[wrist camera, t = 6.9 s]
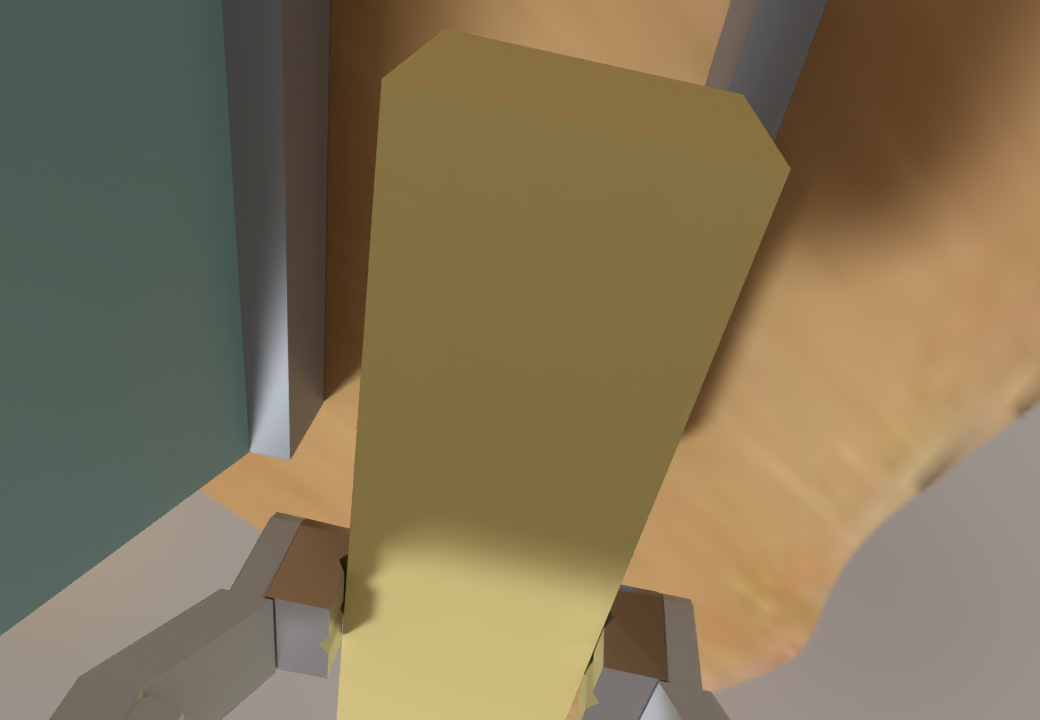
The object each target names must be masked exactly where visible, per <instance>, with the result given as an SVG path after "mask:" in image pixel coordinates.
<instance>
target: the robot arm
mask: <svg viewBox="0 0 1040 720" xmlns="http://www.w3.org/2000/svg"><path fill="white" fill-rule="evenodd" d="M349 536H350V529H349V528H345V527H340V526H336V525H332V524H328V523H324V522H319V521H315V520H311V519H307V518H302V517H297V516H293V515H288V514H284V513H279V512H276V513H275V514H274V515H273V516H272V517H271V518H270V519H269V521H268V523H267V525H266V526H265V528H264V530H263V532H262V534H261V535H260V538H259V539H258V541H257V543H256V544H255V546H254V548H253V550H252V552H251V553H250V555H249V557H248V559H247V560H246V562H245V564H244V566H243V568H242V569H241V571H240V573H239V575H238V577H237V578H236V580H235V582H234V584H233V586H232V587H231V589H230V590H225V589H220V590H218V591H217V592H215V593H213V594H212V595H210V596H209V597H207V598H205V599H204V600H202V601H200V602H199V603H197V604H196V605H194V606H192V607H191V608H189V609H188V610H186V611H184V612H183V613H181V614H179V615H178V616H176V617H175V618H173V619H171V620H170V621H168V622H167V623H165V624H163V625H162V626H161V627H159V628H157V629H155V630H154V631H152V632H150V633H149V634H147V635H146V636H144V637H142V638H141V639H139V640H138V641H136V642H134V643H133V644H131V645H129V646H128V647H126V648H125V649H123V650H122V651H120V652H118V653H117V654H115V655H113V656H112V657H110V658H109V659H107V660H105V661H104V662H102V663H100V664H99V665H97V666H96V667H94V668H92V669H91V670H89V671H88V672H86V673H84V674H83V675H81V676H79V677H78V679H77V680H76V682H75V683H74V685H73V686H72V688H71V689H70V690H69V692H68V693H67V695H66V696H65V698H64V699H63V701H62V702H61V704H60V705H59V706H58V708H57V709H56V711H55V712H54V713H53V715H52V716H51V718H50V720H222V719H223V718H224V717H225V716H226V715H227V714H228V713H229V712H231V711H232V710H233V709H234V708H235V707H236V706H237V705H239V704H240V703H241V702H242V701H243V700H244V699H246V698H247V697H248V696H249V695H250V694H251V693H253V692H254V691H255V690H256V689H257V688H258V687H259V686H261V685H262V684H263V683H264V682H265V681H266V680H267V679H268V678H270V677H271V676H272V675H273V674H274V673H275V672H276V669H280V670H285V671H291V672H296V673H302V674H308V675H313V676H319V677H324V678H328V675H329V673H330V670H331V667H332V665H333V662H334V660H335V657H336V654H337V651H338V649H339V646H340V643H341V635H342V624H343V622H344V608H345V593H346V579H347V565H348V551H349ZM584 674H585V677H584V679H583V682H582V685H581V687H580V690H579V697H578V720H730V718H729V717H728V715H727V714H726V713H725V711H724V710H723V708H722V707H721V705H720V704H719V702H718V701H717V700H716V698H715V697H714V695H713V694H712V692H709V691H705V690H702V681H701V672H700V662H699V653H698V644H697V635H696V625H695V616H694V607H693V604H692V602H691V600H690V599H686V598H681V597H677V596H672V595H667V594H662V593H659V592H656V591H651V590H645V589H640V588H635V587H630V586H625V585H620V587H619V590H618V592H617V594H616V597H615V599H614V602H613V604H612V607H611V609H610V611H609V614H608V616H607V619H606V621H605V624H604V626H603V629H602V631H601V633H600V636H599V638H598V641H597V643H596V646H595V648H594V651H593V653H592V655H591V658H590V660H589V663H588V665H587V668H586V670H585V672H584Z"/></svg>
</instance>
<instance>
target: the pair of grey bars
mask: <svg viewBox="0 0 1040 720" xmlns="http://www.w3.org/2000/svg"><path fill="white" fill-rule="evenodd" d="M827 2H828V0H731V3H730V6H729V10H728V13H727V16H726V19H725V23H724V26H723V29H722V32H721V36H720V39H719V42H718V45H717V49H716V52H715V55H714V58H713V62H712V65H711V68H710V71H709V75H708V78H707V81H706V84H705V86H706V87H711V88H715V89H720V90H724V91H729V92H733V93H738V94H742V95H744V97H745V98H746V100H747V101H748V103H749V104H750V106H751V108H752V109H753V111H754V112H755V114H756V115H757V117H758V118H759V120H760V122H761V123H762V125H763V126H764V128H765V129H766V131H767V132H768V134H769V136H770V137H771V139H772V140H773V142H775V139H776V137H777V134H778V131H779V129H780V126H781V124H782V121H783V118H784V116H785V113H786V110H787V108H788V105H789V102H790V100H791V97H792V94H793V92H794V89H795V86H796V84H797V81H798V78H799V76H800V73H801V71H802V68H803V65H804V63H805V60H806V57H807V55H808V52H809V49H810V47H811V44H812V41H813V39H814V36H815V33H816V31H817V28H818V26H819V23H820V20H821V18H822V15H823V12H824V10H825V7H826V4H827ZM222 16H223V32H224V48H225V64H226V80H227V96H228V113H229V129H230V145H231V161H232V177H233V193H234V209H235V225H236V242H237V258H238V274H239V290H240V306H241V322H242V338H243V354H244V370H245V387H246V403H247V419H248V435H249V451H250V452H253V453H257V454H262V455H267V456H272V457H276V458H281V459H286V460H290V459H291V458H292V456H293V454H294V453H295V451H296V449H297V447H298V446H299V444H300V442H301V440H302V439H303V437H304V435H305V434H306V432H307V430H308V428H309V427H310V425H311V423H312V421H313V420H314V418H315V416H316V415H317V413H318V411H319V409H320V408H321V406H322V404H323V401H324V341H325V281H326V221H327V161H328V102H329V42H330V0H222Z"/></svg>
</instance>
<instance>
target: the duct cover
mask: <svg viewBox="0 0 1040 720" xmlns="http://www.w3.org/2000/svg"><path fill="white" fill-rule="evenodd" d="M249 452H250V451H249V435H248V419H247V403H246V387H245V370H244V354H243V338H242V322H241V306H240V290H239V274H238V258H237V242H236V225H235V209H234V193H233V177H232V161H231V145H230V129H229V113H228V96H227V80H226V64H225V48H224V32H223V16H222V0H0V636H1V635H2V634H3V633H5V632H6V631H7V630H9V629H10V628H12V627H13V626H14V625H15V624H17V623H18V622H20V621H21V620H22V619H24V618H25V617H26V616H28V615H29V614H30V613H32V612H33V611H35V610H36V609H37V608H39V607H40V606H41V605H43V604H44V603H45V602H47V601H48V600H49V599H51V598H52V597H53V596H55V595H56V594H58V593H59V592H60V591H62V590H63V589H64V588H66V587H67V586H68V585H70V584H71V583H72V582H74V581H75V580H77V579H78V578H79V577H81V576H82V575H83V574H84V573H86V572H87V571H89V570H90V569H91V568H93V567H94V566H95V565H97V564H98V563H100V562H101V561H102V560H104V559H105V558H106V557H108V556H109V555H110V554H112V553H113V552H114V551H116V550H117V549H118V548H120V547H121V546H123V545H124V544H125V543H127V542H128V541H129V540H131V539H132V538H133V537H135V536H136V535H138V534H139V533H140V532H142V531H143V530H144V529H146V528H147V527H148V526H150V525H151V524H152V523H154V522H155V521H156V520H158V519H159V518H161V517H162V516H163V515H165V514H166V513H167V512H169V511H170V510H171V509H173V508H174V507H175V506H177V505H178V504H179V503H181V502H182V501H183V500H185V499H186V498H188V497H189V496H190V495H192V494H193V493H194V492H196V491H197V490H199V489H200V488H201V487H203V486H204V485H205V484H207V483H208V482H209V481H211V480H212V479H213V478H215V477H216V476H217V475H219V474H220V473H222V472H223V471H224V470H226V469H227V468H228V467H230V466H231V465H232V464H234V463H235V462H236V461H238V460H239V459H241V458H242V457H243V456H245V455H246V454H247V453H249Z"/></svg>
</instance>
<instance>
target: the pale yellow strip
mask: <svg viewBox="0 0 1040 720" xmlns="http://www.w3.org/2000/svg"><path fill="white" fill-rule="evenodd" d="M790 170H791V168H790V167H789V165H788V164H787V162H786V160H785V159H784V157H783V156H782V154H781V153H780V151H779V150H778V148H777V146H776V145H775V143H774V142H773V140H772V139H771V137H770V136H769V134H768V132H767V131H766V129H765V128H764V126H763V125H762V123H761V122H760V120H759V118H758V117H757V115H756V114H755V112H754V111H753V109H752V108H751V106H750V104H749V103H748V101H747V100H746V98H745V97H744V95H742V94H738V93H733V92H729V91H724V90H720V89H715V88H711V87H706V86H702V85H697V84H692V83H688V82H683V81H679V80H674V79H670V78H665V77H661V76H656V75H652V74H647V73H643V72H638V71H634V70H629V69H625V68H620V67H615V66H611V65H606V64H602V63H597V62H593V61H588V60H584V59H579V58H575V57H570V56H566V55H561V54H557V53H552V52H547V51H543V50H538V49H534V48H529V47H525V46H520V45H516V44H511V43H507V42H502V41H498V40H493V39H489V38H484V37H479V36H475V35H470V34H466V33H461V32H457V31H452V30H448V29H443V30H442V31H440V32H439V33H438V34H437V35H436V36H434V37H433V38H432V39H431V40H429V41H428V42H427V43H426V44H424V45H423V46H422V47H421V48H419V49H418V50H417V51H416V52H414V53H413V54H412V55H411V56H409V57H408V58H407V59H406V60H404V61H403V62H402V63H401V64H399V65H398V66H397V67H396V68H395V69H393V70H392V71H391V72H390V73H388V74H387V75H386V76H385V77H383V78H382V80H381V95H380V109H379V123H378V137H377V152H376V166H375V180H374V194H373V209H372V223H371V237H370V251H369V266H368V280H367V294H366V308H365V323H364V337H363V351H362V365H361V380H360V394H359V408H358V422H357V437H356V451H355V465H354V479H353V494H352V508H351V522H350V536H349V551H348V565H347V579H346V593H345V608H344V622H343V637H342V650H341V665H340V679H339V693H338V707H337V720H565V719H566V716H567V714H568V712H569V709H570V707H571V704H572V702H573V699H574V697H575V694H576V692H577V690H578V687H579V685H580V682H581V680H582V677H583V675H584V672H585V670H586V668H587V665H588V663H589V660H590V658H591V655H592V653H593V651H594V648H595V646H596V643H597V641H598V638H599V636H600V633H601V631H602V629H603V626H604V624H605V621H606V619H607V616H608V614H609V611H610V609H611V607H612V604H613V602H614V599H615V597H616V594H617V592H618V590H619V587H620V585H621V582H622V580H623V577H624V575H625V572H626V570H627V568H628V565H629V563H630V560H631V558H632V555H633V553H634V550H635V548H636V546H637V543H638V541H639V538H640V536H641V533H642V531H643V529H644V526H645V524H646V521H647V519H648V516H649V514H650V511H651V509H652V507H653V504H654V502H655V499H656V497H657V494H658V492H659V489H660V487H661V485H662V482H663V480H664V477H665V475H666V472H667V470H668V468H669V465H670V463H671V460H672V458H673V455H674V453H675V450H676V448H677V446H678V443H679V441H680V438H681V436H682V433H683V431H684V428H685V426H686V424H687V421H688V419H689V416H690V414H691V411H692V409H693V406H694V404H695V402H696V399H697V397H698V394H699V392H700V389H701V387H702V385H703V382H704V380H705V377H706V375H707V372H708V370H709V367H710V365H711V363H712V360H713V358H714V355H715V353H716V350H717V348H718V345H719V343H720V341H721V338H722V336H723V333H724V331H725V328H726V326H727V324H728V321H729V319H730V316H731V314H732V311H733V309H734V306H735V304H736V302H737V299H738V297H739V294H740V292H741V289H742V287H743V284H744V282H745V280H746V277H747V275H748V272H749V270H750V267H751V265H752V263H753V260H754V258H755V255H756V253H757V250H758V248H759V245H760V243H761V241H762V238H763V236H764V233H765V231H766V228H767V226H768V223H769V221H770V219H771V216H772V214H773V211H774V209H775V206H776V204H777V202H778V199H779V197H780V194H781V192H782V189H783V187H784V184H785V182H786V180H787V177H788V175H789V172H790Z"/></svg>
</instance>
